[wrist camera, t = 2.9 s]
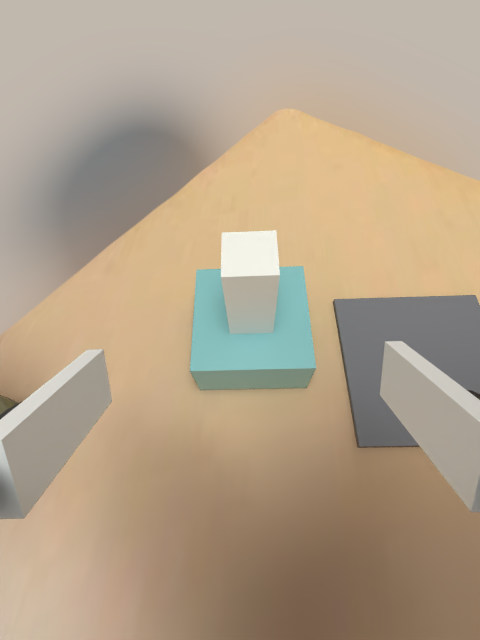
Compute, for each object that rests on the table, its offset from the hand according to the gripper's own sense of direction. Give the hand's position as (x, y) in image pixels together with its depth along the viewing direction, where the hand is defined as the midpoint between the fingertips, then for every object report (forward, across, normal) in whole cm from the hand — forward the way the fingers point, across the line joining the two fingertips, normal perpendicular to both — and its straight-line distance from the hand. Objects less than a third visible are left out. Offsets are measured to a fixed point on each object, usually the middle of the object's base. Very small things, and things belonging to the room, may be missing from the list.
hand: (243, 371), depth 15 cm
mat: (+18, +18, -8) cm, 27 cm away
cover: (+20, +1, -6) cm, 21 cm away
